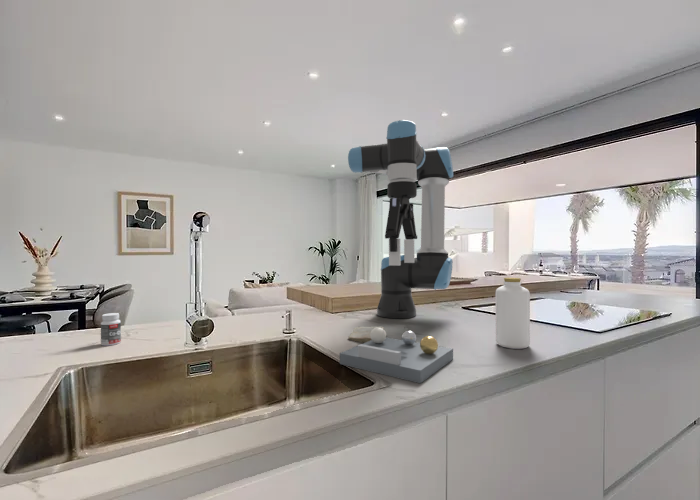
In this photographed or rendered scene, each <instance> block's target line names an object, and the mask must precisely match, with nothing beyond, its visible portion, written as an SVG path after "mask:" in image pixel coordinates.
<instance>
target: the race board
mask: <svg viewBox="0 0 700 500" xmlns="http://www.w3.org/2000/svg"><path fill="white" fill-rule="evenodd" d="M453 359H454V348H452V347H446V346H441V345H440V346H439V345H438V349H437V351H436V352H435V353H433V354H426V353H424V352H423V351H422V350H421V348H420V342H417V341H415V343H414V344H412V345H406V344H405V343H404V342H403V341H402V339H398V338H391V337H388V336H386V339H385V341H384V342H382V343H379V344H378V343H375V342H373V341H372V340H371V341H368V342H366V343H363V342H362V343H361V344H358V345H356V346H354V347H351V348H349V349H346V350H343V351H342V352H339V364H340V365H343V366H347V367H351V368H356V369H359V370H363V371H368V372H371V373H376V374H381V375H385V376H388V377H393V378H396V379H397V378H398V379H402V380H404V381H405V380H406V381H411V382H413V383H418V384H421V383H423V382H424V381H426V380H427V379H428V378H429V377H431V376H433V374H435V373H437V372H438V371H439V370H440V369H442V368H443V367H444V366H446V365H448V364H449V363H450V362H451V361H452V360H453Z"/></svg>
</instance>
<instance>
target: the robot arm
mask: <svg viewBox="0 0 700 500" xmlns="http://www.w3.org/2000/svg"><path fill="white" fill-rule="evenodd" d="M417 135H418V132H417V125H416V123H415V122H414V121H412V120H408V119H407V120H406V119H401V120H394V121H392V122H391V123H389V124H388V126H387V129H386V143H381V144H372V145H365V146H364V145H363V146H362V145H361V146H360V145H359V146H355V147H352V148H351V149H350V150H348V155H347V160H348V161H347V162H348V166H349V169H350V171H351V172H352V173H355V174H356V173H361V174H362V173H367V172H368V173H376V174H383V175H386V176H387V182H388V184H387V198H388V199H389V205H388V206H389V207H388V215H387V221H386V227H385V233H384V239H385V240H388V256H385V257H383V258H382V259H381V265H380V278H381V279H380V280H381V281H380V282H381V284H380V286H381V288H380V291H381V292H380V297H379V301H378V305H377V308H376V315H377V316H379V317H382V318H387V319H408V318H409V319H410V318H414V317H416V315H417V309H416V305H415V302H414V299H413V295H412V289H416V290H418V289H420V290H422V289H423V290H435V291H436V290H446V289H447V288H448V287H449V286H450V282H451V279H452V275H453V274H452V273H453V258H451V257H449V252H447V250H446V249H445V209H446V207H445V205H446V203H445V202H446V200H445V199H446V196H445V194H446V186H448V185H449V184H450V179H451V178H453V177H454V169H453V160H452V157H451V151H450V149H449V148H448V147H445V146H442V147H431V148H424V147H423V146H422V144H420V143H419V141H418V139H417ZM416 181H417V183H418V185H417V183H416ZM417 186H419V187H421V220H420V221H421V224H420V225H421V226H420V229H421V231H420V249H419V250H418V251H417V252H416V257H415V240H417V239H418V235H417V232H416V231H417V230H416V223H415V215H414V214H415V213H414V203H413V202H412V203H411V202H410V199H415V198H416V197H417V196H418V195H417V194H418V193H417V192H418V191H417V190H418V188H417ZM401 229H403V234H404V238H405V239H403V246H404V247H403V250H404V251H403V252H404V253H403V254H401V238H400V234H401Z"/></svg>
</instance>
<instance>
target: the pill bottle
mask: <svg viewBox="0 0 700 500" xmlns="http://www.w3.org/2000/svg"><path fill="white" fill-rule="evenodd" d="M101 320H102V321H101V322H100V345H101V346H105V347H106V346H115V345H119V344H121V342H122V328H121V327H122V325H121V323H122V322H121V319H120V313H119V312H109V313H104V314H102V315H101Z"/></svg>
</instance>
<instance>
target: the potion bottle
mask: <svg viewBox="0 0 700 500" xmlns="http://www.w3.org/2000/svg"><path fill="white" fill-rule="evenodd" d="M530 295H531V293H530V291H529V289H528V288H526V287H524V286H522V278H519V277H503V285H501V286H499V287H498V288H496V289H495V342H496V344H498V345H499V346H500V347H504V348H505V349H506V348H507V349H511V350H512V349H514V350H521V349H526V348H528V347H529V346H530V344H531V307H530V306H531V305H530V303H531V296H530Z"/></svg>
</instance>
